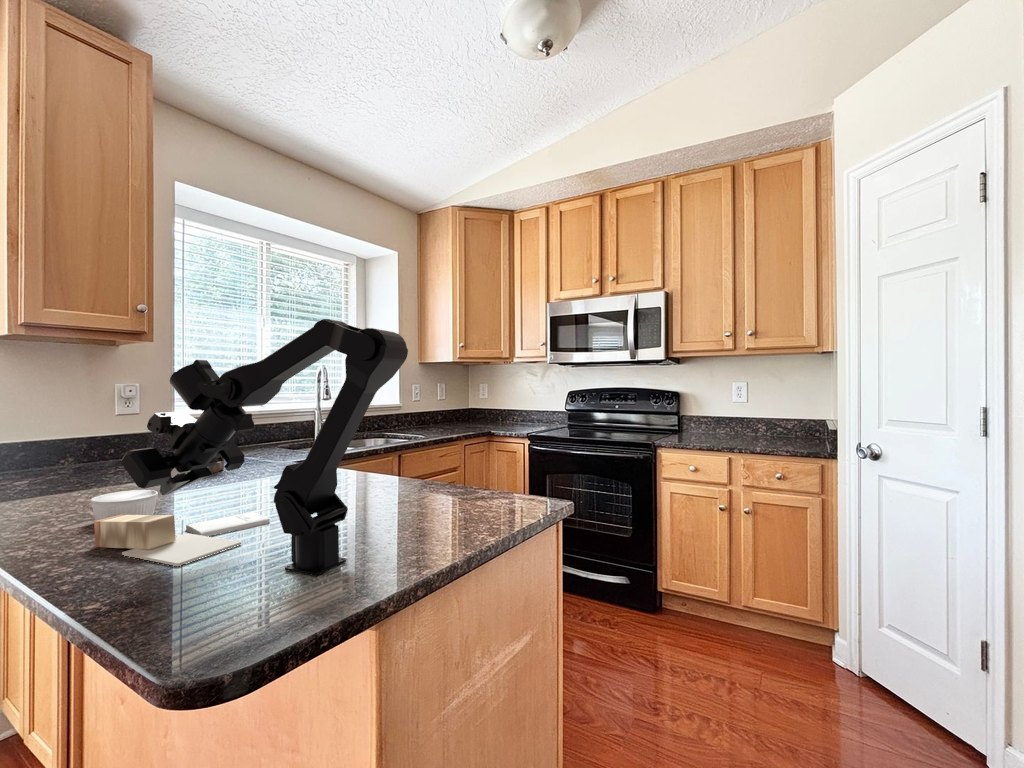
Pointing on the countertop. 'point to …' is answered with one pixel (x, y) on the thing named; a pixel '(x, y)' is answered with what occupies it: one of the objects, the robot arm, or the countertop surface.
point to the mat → (183, 549)
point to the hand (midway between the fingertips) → (163, 493)
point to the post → (135, 531)
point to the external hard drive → (227, 524)
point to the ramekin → (124, 503)
